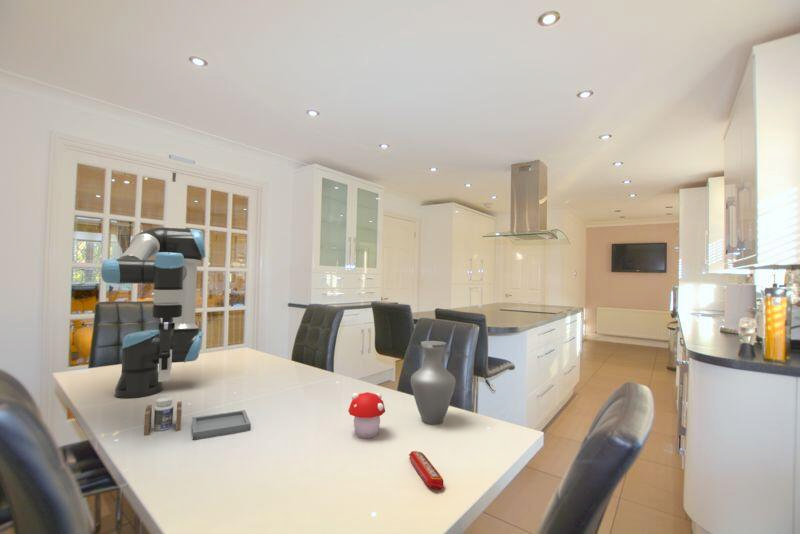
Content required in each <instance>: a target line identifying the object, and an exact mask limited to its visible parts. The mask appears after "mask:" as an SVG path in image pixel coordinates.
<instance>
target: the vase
mask: <svg viewBox="0 0 800 534" xmlns="http://www.w3.org/2000/svg"><path fill="white" fill-rule="evenodd" d="M420 345H421V347H422V351H423V354H424V360H423V364H422V365H421V367H420V368H419V369H418V370H416V371H415V372H414V373H413V374H412V375H411V376H410V385H411V386H410V387H411V391H412V394H413V397H414V401H415V405H416V407H417V411H418V413H419V415H420V418H421V421H422V422H423V423H425V424H426V425H439V424H442V423H443V421H444V419H445V417H446V414H447V412H448V410H449V407H450V405H451V404H450V403H451V401H452V399H453V398H452V397H453V394H454V391H455V387H456V382H457V381H456V377H455V376H454V375H453V374H452V373H451V372H450V371H449V370H447V368H446V367H445V366H444V363H443V355H444V354H443V353H444V351H445V347H446V345H447V342H445V341H441V340H440V341H439V340H424V341H421V342H420Z"/></svg>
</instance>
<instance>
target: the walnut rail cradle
mask: <svg viewBox="0 0 800 534" xmlns="http://www.w3.org/2000/svg"><path fill="white" fill-rule="evenodd" d="M182 403H183V401H177V402H176V414H175V415H176V418H175V431H181V430H182V429H181V428H182ZM152 409H153V404H148V405H146V408H145V411H144V421H143V423H144V424H143V436H149V435H150V431H151V427H152V416H153V415H152V412H153V410H152Z"/></svg>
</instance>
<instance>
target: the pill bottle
mask: <svg viewBox="0 0 800 534" xmlns="http://www.w3.org/2000/svg"><path fill="white" fill-rule="evenodd" d="M155 401H156V402H155V404H156V406H155V407H154V417H153V430H155V431H157V432H159V431H161V432H162V431H166V430H169V429H172V427H173V422H174V420H173V419H174V405H173V398H172V397H161V398H158V399H157V400H155Z"/></svg>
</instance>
